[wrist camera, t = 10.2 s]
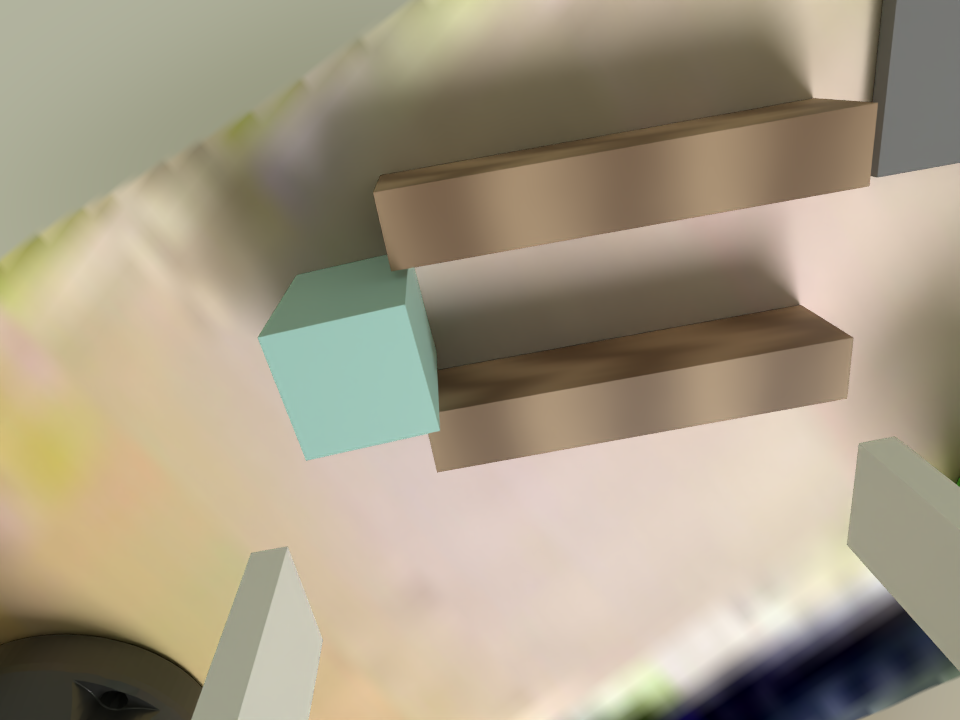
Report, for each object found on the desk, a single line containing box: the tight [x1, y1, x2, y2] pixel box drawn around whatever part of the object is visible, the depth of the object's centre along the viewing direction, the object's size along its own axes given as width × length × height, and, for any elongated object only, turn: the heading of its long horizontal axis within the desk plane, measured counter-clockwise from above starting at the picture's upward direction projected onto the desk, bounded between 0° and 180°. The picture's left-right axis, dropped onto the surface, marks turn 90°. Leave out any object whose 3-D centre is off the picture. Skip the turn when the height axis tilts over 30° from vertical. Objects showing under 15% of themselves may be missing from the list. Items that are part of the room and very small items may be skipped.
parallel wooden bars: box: [373, 98, 878, 472], centre depth 26 cm, size 18×12×4 cm, turn 99°
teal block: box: [258, 255, 440, 461], centre depth 25 cm, size 5×5×7 cm
